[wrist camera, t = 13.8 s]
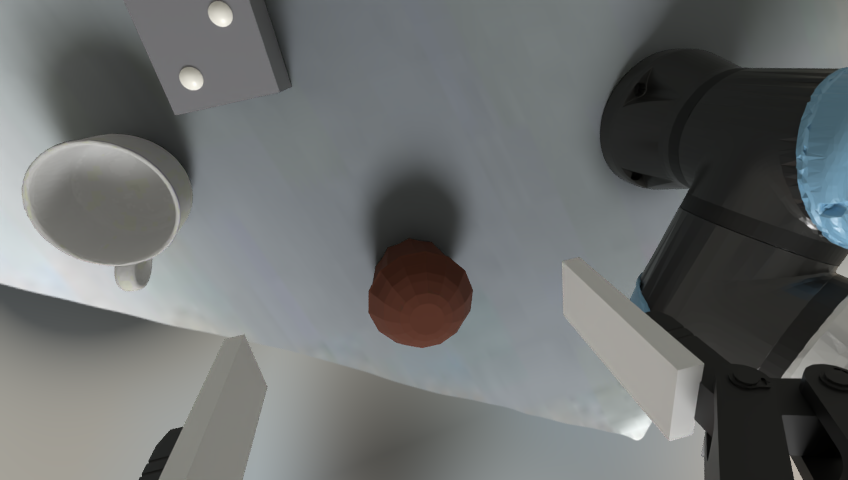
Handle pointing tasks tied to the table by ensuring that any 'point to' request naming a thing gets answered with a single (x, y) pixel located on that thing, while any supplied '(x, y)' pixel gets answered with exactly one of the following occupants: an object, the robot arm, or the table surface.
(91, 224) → the teacup
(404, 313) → the muffin
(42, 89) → the table surface
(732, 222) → the robot arm
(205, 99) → the die
